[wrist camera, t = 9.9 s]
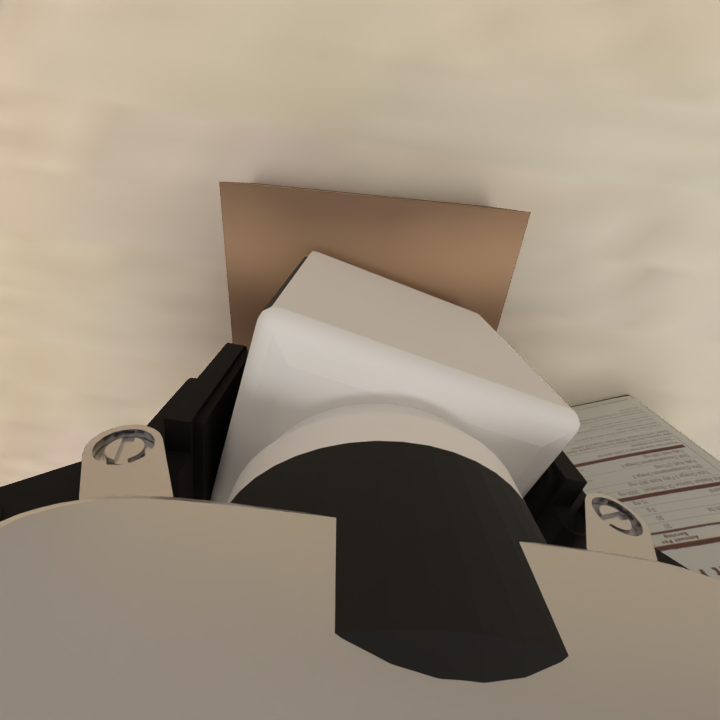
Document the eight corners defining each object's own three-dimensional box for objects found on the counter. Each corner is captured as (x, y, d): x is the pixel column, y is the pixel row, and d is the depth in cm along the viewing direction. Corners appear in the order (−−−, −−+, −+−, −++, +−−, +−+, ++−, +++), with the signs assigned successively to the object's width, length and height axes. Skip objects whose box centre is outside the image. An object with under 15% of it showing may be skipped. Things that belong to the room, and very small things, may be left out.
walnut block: (441, 399, 23) (462, 449, 19) (263, 386, 23) (240, 435, 18) (486, 206, 18) (530, 212, 13) (254, 183, 17) (219, 181, 13)
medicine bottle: (308, 246, 12) (-23, 634, 2) (482, 313, 14) (974, 796, 3) (261, 402, 15) (34, 910, 4) (407, 446, 16) (503, 930, 6)
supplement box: (623, 471, 26) (829, 690, 15) (523, 489, 27) (646, 711, 15) (633, 390, 23) (907, 591, 11) (519, 414, 23) (670, 624, 12)
